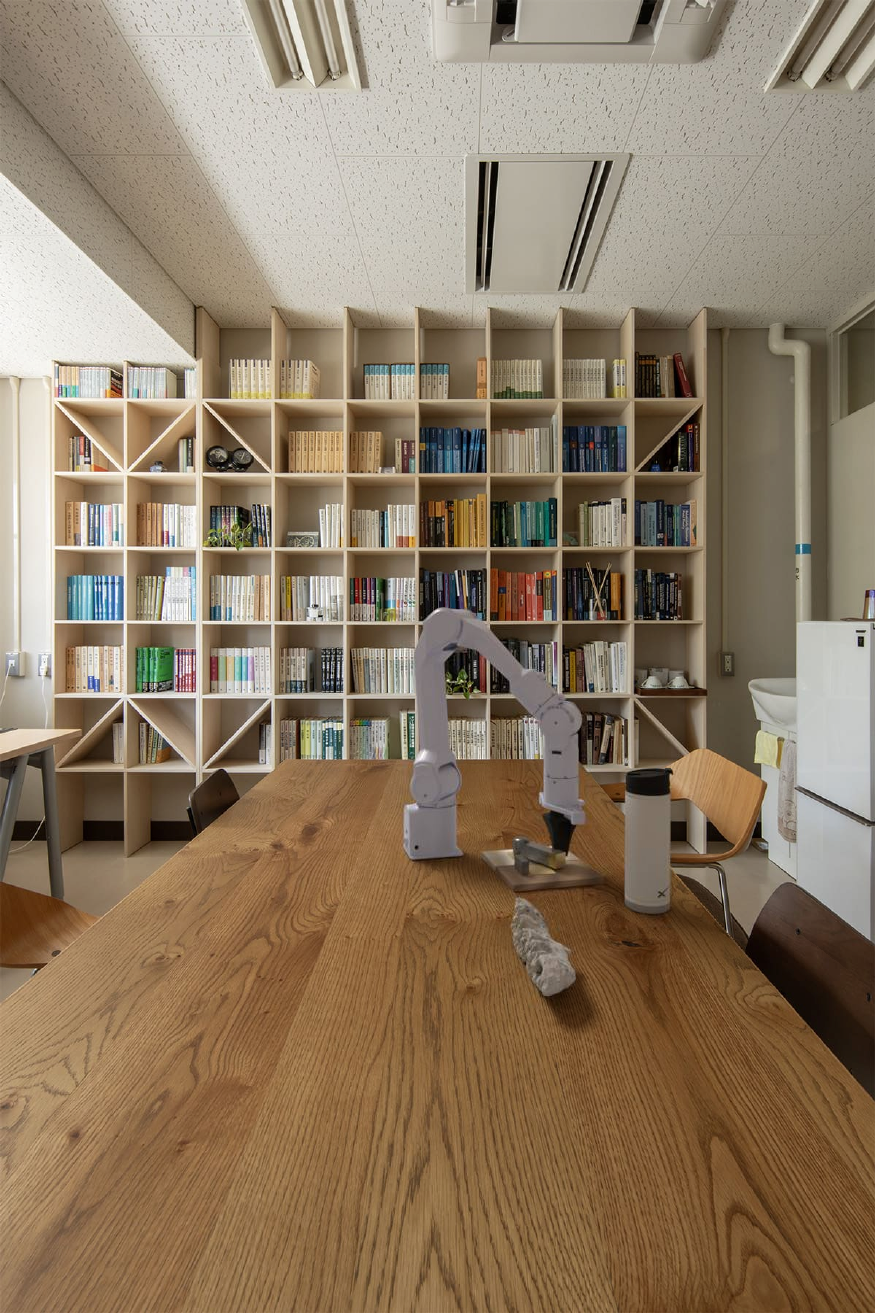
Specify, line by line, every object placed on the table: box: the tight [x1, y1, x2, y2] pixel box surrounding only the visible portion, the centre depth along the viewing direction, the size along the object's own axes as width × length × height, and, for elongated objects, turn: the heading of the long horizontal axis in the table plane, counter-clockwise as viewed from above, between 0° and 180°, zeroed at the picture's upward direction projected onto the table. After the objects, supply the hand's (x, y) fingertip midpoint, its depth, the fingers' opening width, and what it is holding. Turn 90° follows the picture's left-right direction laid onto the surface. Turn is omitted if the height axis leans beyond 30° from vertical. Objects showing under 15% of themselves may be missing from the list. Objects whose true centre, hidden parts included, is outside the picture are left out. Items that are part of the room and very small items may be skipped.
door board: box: [481, 845, 605, 893], centre depth 117 cm, size 15×17×3 cm
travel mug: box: [624, 767, 674, 915], centre depth 101 cm, size 6×7×20 cm
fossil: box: [510, 897, 577, 997], centre depth 83 cm, size 21×6×5 cm, turn 5°
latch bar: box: [512, 836, 566, 869], centre depth 118 cm, size 10×3×3 cm, turn 37°
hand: (560, 856), depth 117 cm, fingers closed, pressing on latch bar
